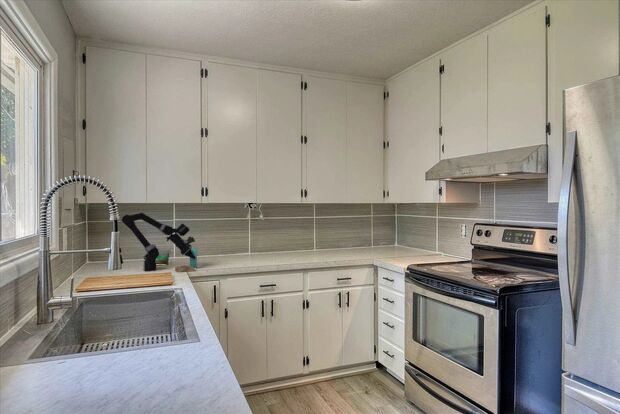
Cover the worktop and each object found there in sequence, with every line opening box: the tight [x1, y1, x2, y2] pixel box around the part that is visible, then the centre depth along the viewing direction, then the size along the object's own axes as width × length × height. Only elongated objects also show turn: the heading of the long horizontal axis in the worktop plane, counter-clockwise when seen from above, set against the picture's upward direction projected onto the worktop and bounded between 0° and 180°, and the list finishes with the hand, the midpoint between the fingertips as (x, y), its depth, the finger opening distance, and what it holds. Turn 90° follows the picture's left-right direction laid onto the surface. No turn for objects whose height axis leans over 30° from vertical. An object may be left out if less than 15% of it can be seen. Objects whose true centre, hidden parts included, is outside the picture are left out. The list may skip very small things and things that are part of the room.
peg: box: [189, 247, 198, 269], centre depth 248 cm, size 4×4×13 cm
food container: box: [156, 249, 171, 265], centre depth 263 cm, size 12×6×10 cm, turn 105°
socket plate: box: [174, 265, 195, 273], centre depth 237 cm, size 9×9×2 cm
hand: (195, 258), depth 249 cm, fingers closed on peg, 4 cm apart
